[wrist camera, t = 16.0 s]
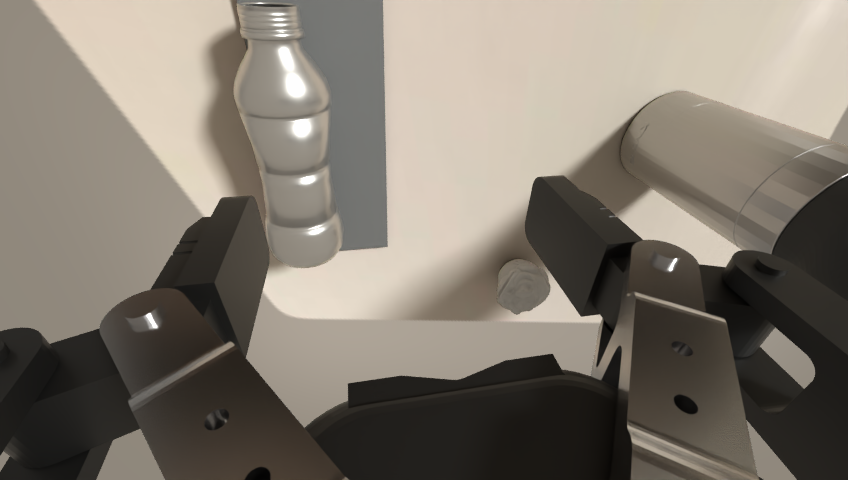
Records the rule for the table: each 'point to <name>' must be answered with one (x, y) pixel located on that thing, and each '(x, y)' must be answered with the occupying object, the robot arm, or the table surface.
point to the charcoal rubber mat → (352, 109)
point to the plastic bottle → (288, 134)
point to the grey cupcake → (521, 286)
